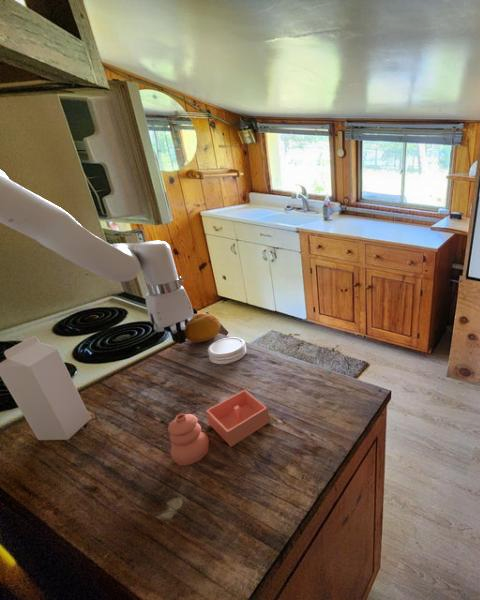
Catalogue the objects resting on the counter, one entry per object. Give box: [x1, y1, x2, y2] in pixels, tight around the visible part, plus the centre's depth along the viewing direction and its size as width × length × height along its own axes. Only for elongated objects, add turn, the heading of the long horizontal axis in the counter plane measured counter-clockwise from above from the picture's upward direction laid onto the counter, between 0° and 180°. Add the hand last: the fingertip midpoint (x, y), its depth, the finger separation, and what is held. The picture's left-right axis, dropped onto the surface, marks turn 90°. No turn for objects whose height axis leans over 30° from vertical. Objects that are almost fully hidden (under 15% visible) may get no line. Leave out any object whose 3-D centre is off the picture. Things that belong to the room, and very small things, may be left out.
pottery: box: [167, 389, 271, 466], centre depth 68 cm, size 18×10×10 cm, turn 142°
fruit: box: [184, 312, 222, 343], centre depth 103 cm, size 10×10×8 cm
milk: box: [0, 335, 92, 441], centre depth 66 cm, size 6×6×22 cm
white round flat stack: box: [207, 336, 248, 365], centre depth 96 cm, size 10×10×4 cm
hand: (180, 341), depth 98 cm, fingers closed
